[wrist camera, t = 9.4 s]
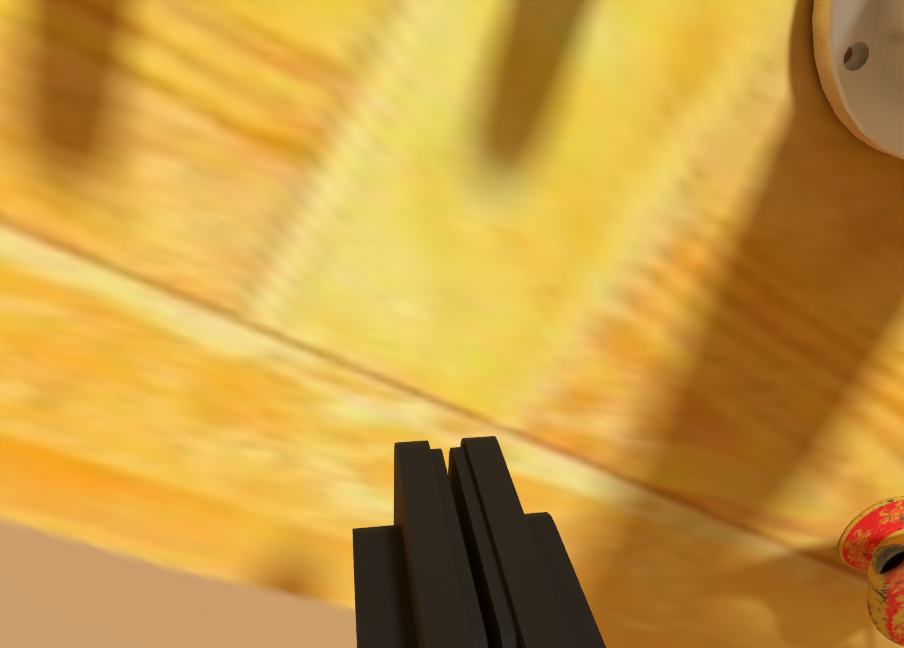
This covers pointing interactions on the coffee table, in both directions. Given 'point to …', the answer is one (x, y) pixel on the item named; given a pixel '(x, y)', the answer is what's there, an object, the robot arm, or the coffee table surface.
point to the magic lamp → (880, 562)
